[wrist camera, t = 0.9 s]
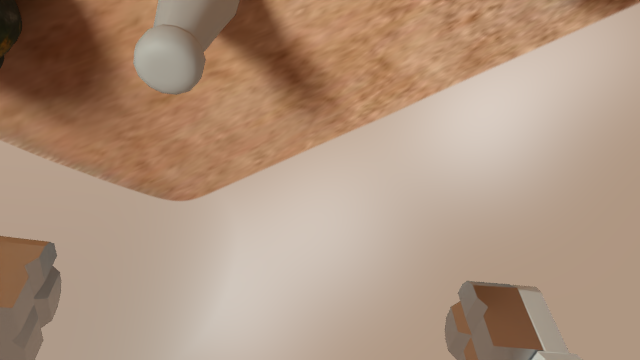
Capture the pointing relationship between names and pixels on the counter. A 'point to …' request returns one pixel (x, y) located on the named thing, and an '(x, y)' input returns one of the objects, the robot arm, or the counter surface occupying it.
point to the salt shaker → (180, 42)
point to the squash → (8, 26)
